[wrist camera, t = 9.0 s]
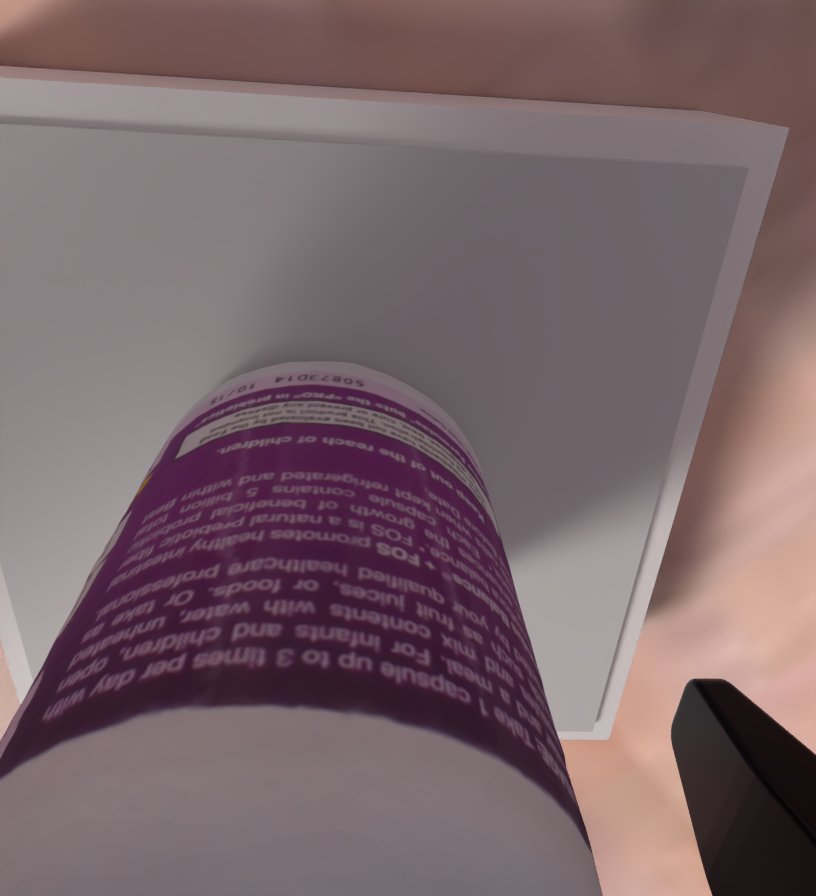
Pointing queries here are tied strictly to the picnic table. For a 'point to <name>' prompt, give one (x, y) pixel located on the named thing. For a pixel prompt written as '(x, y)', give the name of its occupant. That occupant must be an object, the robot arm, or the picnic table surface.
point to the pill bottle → (296, 672)
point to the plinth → (372, 314)
